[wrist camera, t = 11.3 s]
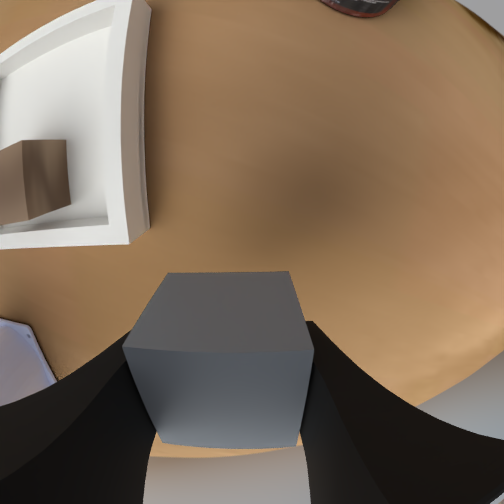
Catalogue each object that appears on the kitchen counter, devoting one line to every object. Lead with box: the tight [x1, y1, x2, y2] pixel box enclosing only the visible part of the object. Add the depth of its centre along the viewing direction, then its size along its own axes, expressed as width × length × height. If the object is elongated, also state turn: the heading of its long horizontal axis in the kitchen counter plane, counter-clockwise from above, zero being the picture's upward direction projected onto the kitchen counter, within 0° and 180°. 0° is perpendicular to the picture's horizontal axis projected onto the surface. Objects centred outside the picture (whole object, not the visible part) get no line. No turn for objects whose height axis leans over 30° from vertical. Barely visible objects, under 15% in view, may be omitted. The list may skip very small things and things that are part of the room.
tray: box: [0, 0, 152, 249], centre depth 11 cm, size 14×14×3 cm
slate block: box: [122, 271, 314, 449], centre depth 8 cm, size 4×4×4 cm
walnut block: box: [0, 139, 71, 226], centre depth 11 cm, size 4×4×4 cm
